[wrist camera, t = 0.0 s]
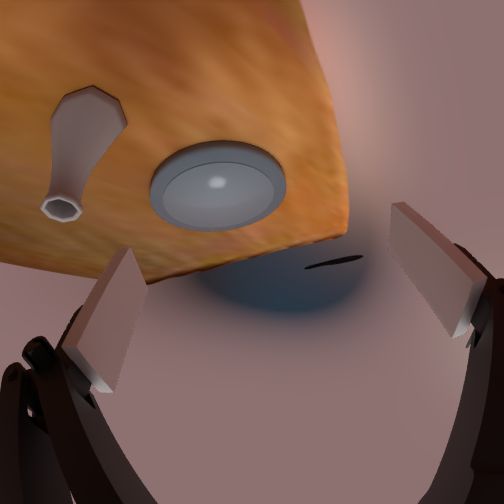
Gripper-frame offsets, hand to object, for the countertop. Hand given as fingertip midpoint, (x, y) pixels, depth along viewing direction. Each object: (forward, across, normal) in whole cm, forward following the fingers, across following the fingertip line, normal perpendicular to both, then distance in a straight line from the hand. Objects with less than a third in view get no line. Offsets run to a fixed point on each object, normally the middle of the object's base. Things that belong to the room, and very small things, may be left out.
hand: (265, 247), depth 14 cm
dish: (+21, -4, -3) cm, 22 cm away
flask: (+13, -13, +9) cm, 20 cm away
